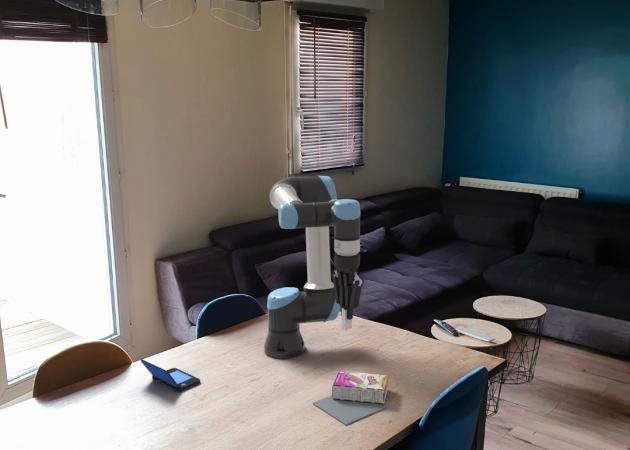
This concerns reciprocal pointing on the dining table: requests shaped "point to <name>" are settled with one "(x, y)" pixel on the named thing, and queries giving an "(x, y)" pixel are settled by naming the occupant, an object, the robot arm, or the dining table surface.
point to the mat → (348, 409)
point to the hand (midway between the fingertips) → (346, 328)
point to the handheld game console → (171, 377)
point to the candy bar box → (360, 387)
